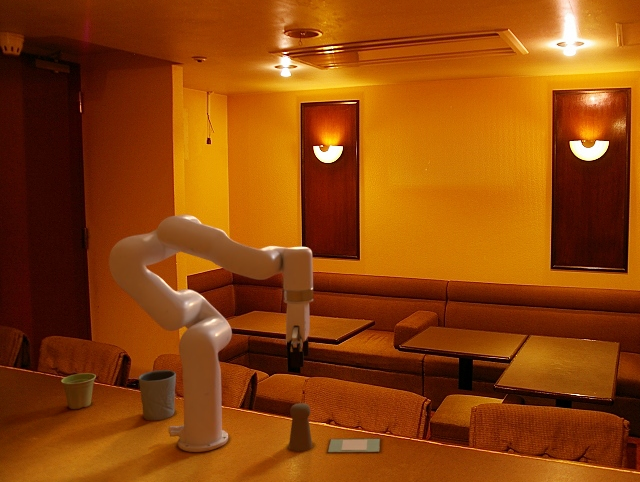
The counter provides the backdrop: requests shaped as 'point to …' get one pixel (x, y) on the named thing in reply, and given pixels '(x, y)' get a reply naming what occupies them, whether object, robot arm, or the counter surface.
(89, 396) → the plant pot
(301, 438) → the brown tall tapered piece
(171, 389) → the grey cup
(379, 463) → the counter surface
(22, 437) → the counter surface
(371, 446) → the placemat
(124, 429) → the counter surface
